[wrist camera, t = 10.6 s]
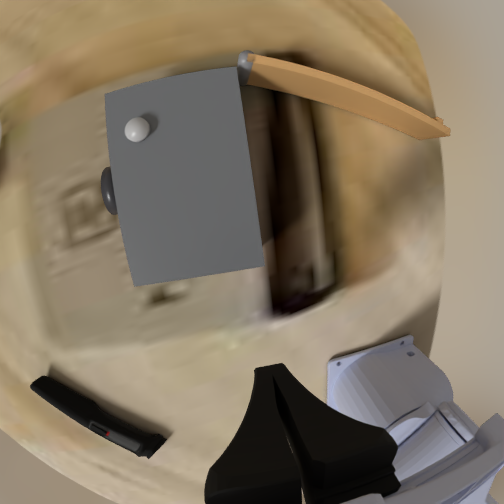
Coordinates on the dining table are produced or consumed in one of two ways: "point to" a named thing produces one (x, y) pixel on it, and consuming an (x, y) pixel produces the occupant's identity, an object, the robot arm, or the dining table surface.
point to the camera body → (182, 177)
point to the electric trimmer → (96, 418)
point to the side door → (336, 94)
